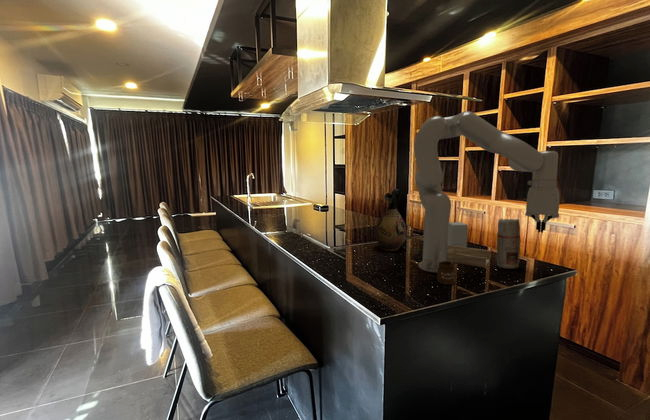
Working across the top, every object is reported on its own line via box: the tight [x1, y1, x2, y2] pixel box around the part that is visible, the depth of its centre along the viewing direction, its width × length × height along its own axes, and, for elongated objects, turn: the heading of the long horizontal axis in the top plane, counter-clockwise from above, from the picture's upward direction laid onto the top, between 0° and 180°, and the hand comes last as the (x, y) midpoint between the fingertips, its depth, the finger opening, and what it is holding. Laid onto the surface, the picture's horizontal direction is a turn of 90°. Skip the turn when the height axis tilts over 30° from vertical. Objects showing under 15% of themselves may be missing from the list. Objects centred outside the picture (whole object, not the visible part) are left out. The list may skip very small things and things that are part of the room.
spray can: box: [496, 218, 521, 270], centre depth 128 cm, size 8×8×20 cm
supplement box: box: [448, 221, 469, 248], centre depth 157 cm, size 7×7×13 cm
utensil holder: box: [436, 249, 457, 286], centre depth 113 cm, size 6×6×12 cm
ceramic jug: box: [374, 188, 408, 252], centre depth 157 cm, size 17×15×30 cm
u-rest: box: [447, 245, 492, 269], centre depth 140 cm, size 13×22×4 cm, turn 54°
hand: (540, 231), depth 121 cm, fingers closed
